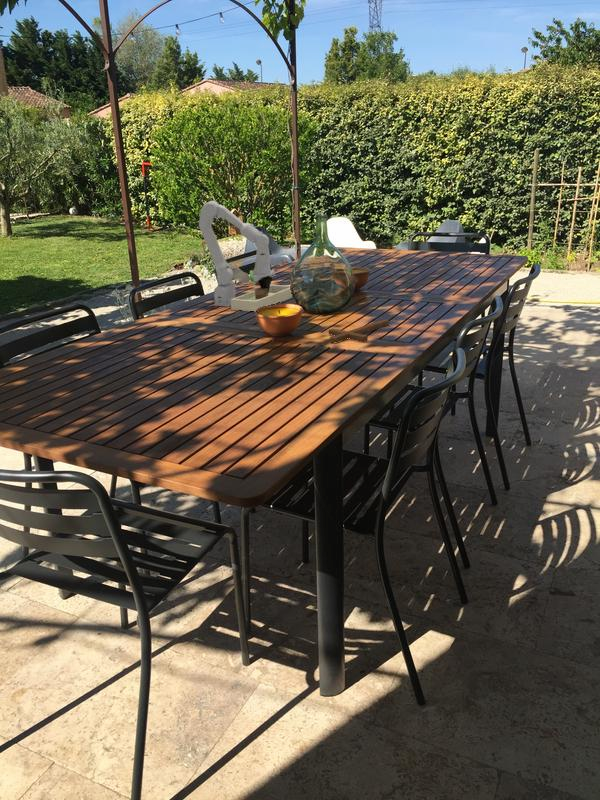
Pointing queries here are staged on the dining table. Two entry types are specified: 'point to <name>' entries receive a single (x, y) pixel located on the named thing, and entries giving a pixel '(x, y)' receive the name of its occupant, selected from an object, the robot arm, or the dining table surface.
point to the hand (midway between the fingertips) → (265, 294)
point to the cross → (356, 332)
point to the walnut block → (261, 293)
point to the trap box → (252, 304)
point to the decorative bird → (244, 274)
